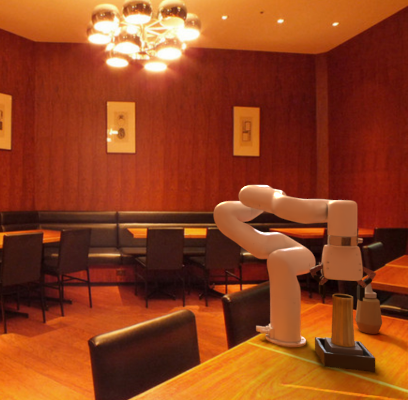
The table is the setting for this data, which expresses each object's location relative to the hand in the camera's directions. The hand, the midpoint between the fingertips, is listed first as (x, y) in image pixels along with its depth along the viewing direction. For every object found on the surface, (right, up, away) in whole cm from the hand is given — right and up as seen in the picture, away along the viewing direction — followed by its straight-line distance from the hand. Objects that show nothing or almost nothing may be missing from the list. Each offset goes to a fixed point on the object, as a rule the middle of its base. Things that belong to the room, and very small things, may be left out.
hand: (341, 298), depth 113 cm
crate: (0, -19, 0) cm, 19 cm away
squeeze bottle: (+25, -19, +24) cm, 40 cm away
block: (0, -18, 0) cm, 18 cm away
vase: (0, -14, 0) cm, 14 cm away
